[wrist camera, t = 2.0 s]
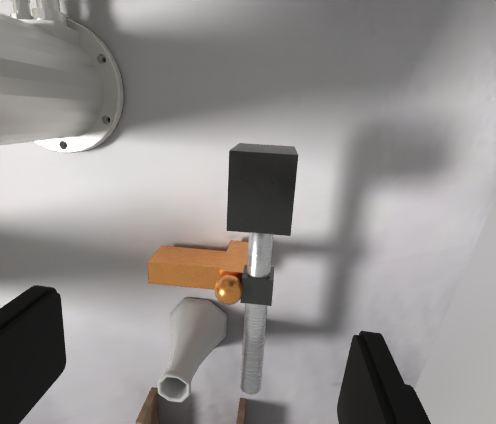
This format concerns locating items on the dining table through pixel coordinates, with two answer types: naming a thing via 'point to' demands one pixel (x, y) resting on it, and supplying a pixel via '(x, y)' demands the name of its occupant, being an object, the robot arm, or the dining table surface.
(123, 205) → the dining table surface
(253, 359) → the rod
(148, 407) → the box
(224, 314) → the flask
